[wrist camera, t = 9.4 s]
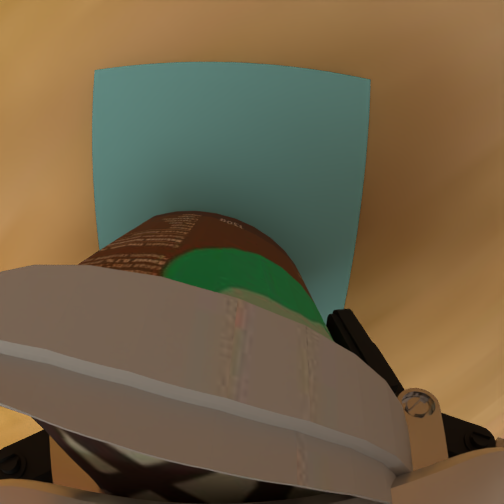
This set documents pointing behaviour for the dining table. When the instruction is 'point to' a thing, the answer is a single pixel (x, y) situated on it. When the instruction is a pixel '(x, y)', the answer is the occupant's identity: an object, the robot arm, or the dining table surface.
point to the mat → (237, 156)
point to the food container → (196, 371)
